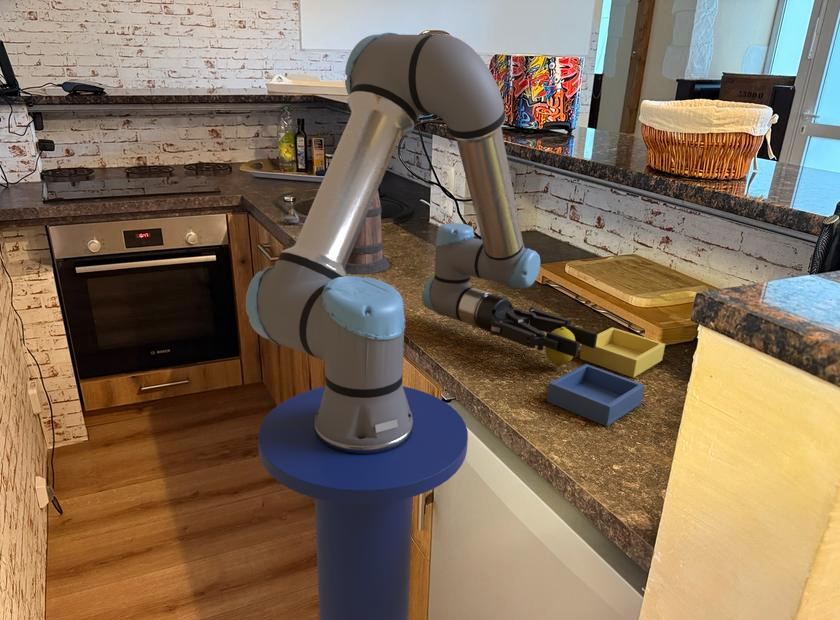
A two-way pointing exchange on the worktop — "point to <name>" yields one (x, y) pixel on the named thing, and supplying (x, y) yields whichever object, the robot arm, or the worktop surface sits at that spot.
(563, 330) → the lemon
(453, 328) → the worktop surface
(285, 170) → the worktop surface
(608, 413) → the blue bin
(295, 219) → the figurine
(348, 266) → the tankard
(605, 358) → the yellow bin
